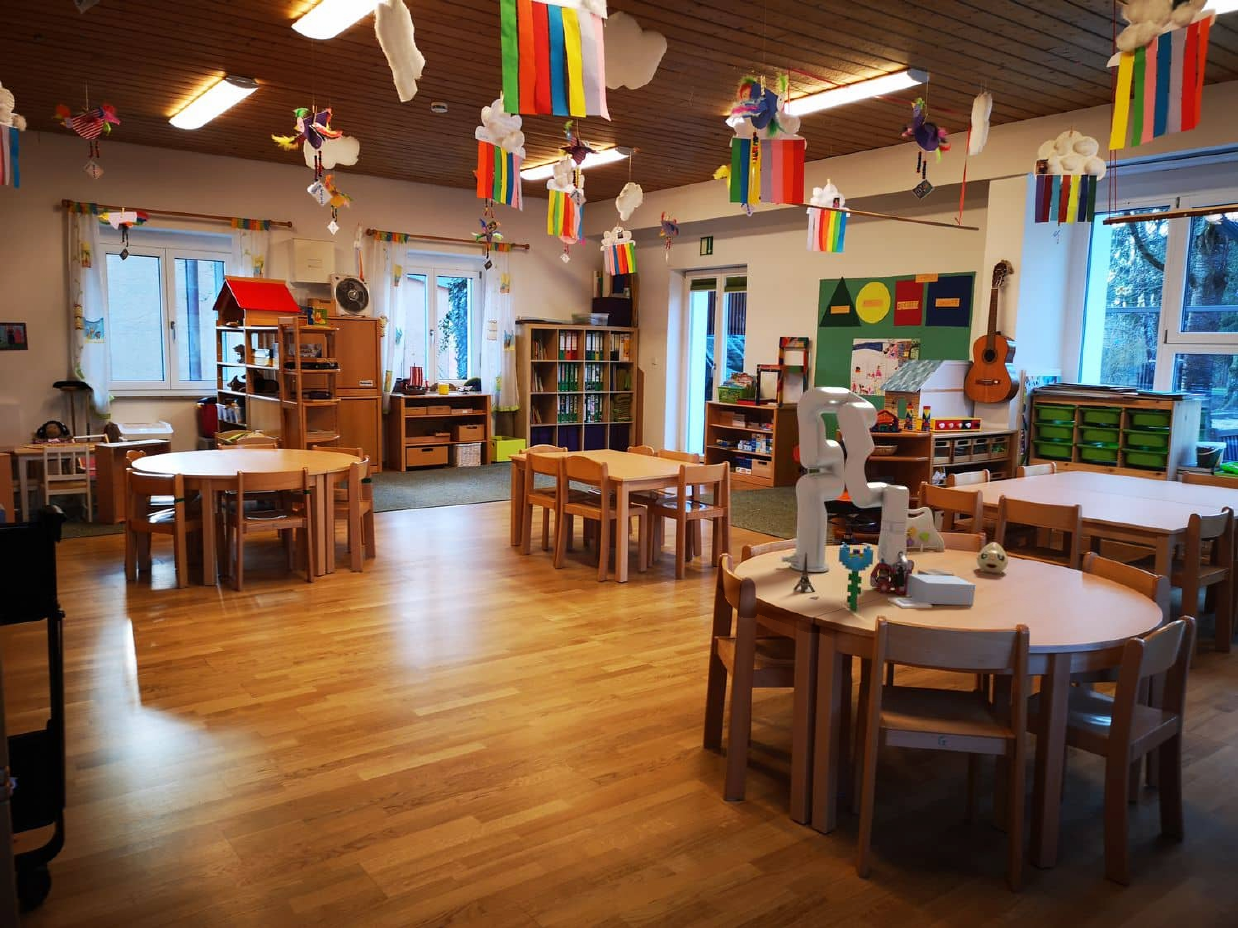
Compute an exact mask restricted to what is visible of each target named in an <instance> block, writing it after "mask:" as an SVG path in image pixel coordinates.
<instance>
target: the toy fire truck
mask: <svg viewBox="0 0 1238 928" xmlns="http://www.w3.org/2000/svg"><path fill="white" fill-rule="evenodd" d="M906 560H907V561H908V565H907V567H906V568H907V569H906V571H905V574H904V586H903V587H894V586H893V575H894V573H895V571H894V567H893V565H892V566H890V565H887V564H885V563H884V559H883V558H882V559H881V563H879V562H878V563H876V564H875V566H874V568H873V569H872V572H871V573H870V575H869V577H870V579H869V580H870V581H869V585H870V586H871V587H872V588H876V589H877V591H878V592H879V593H880V594H883V593H884V594H885V593H886V594H888V593H890V591H891V589H894V592H895V593H896V594H898V595H901V596H904V595H907V594H906V593H907V584H908V575H909V574H913V570H914V569H915V562H914V561H913V560H912V559H906ZM899 567H900V566H899ZM899 567H897V568H899ZM886 568H887V569H888V570H889V571H890V573H889V572H888V570H887V569H886ZM879 569H880V570H879ZM888 574H889V577H887V576H888ZM884 594H883V595H884Z"/></svg>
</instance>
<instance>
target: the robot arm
mask: <svg viewBox="0 0 1238 928" xmlns="http://www.w3.org/2000/svg"><path fill="white" fill-rule="evenodd" d="M796 414H797V421H798V438H799V439H798V441H799V442H798V446H799V460H800V464H801V465H802V466H803V467H804V468H805V469H808V470H819V472H812V473H807V474H805V475H802V476H801V477H800V478H799V479H798V480H797V482H796V485H795V493H796V495H795V496H796V501H797V519H796V520H797V521H796V522H797V524H796V525H797V527H796V546H795V547H796V548H795V552H793V553H792V555H789V556H788V555H782V556H781V558H780V559H781V560H780V561H781V562H782V563H790V567H791V568H792V569H793V570H797V571H801V572H803V569H804V561H805V553H807V572H808V573H823V572H828V571H830V565H829V564H827V563H826V545H827V530H828V529H827V528H828V527H827V526H828V512H827V508H826V505H825V502H829V501H830V502H831V501H835V500H838V499H839V498H841V496H842V495H843V494H844V490H845V486H846V490H847V493H848V496H849V498H850V501H851V502H852V503H853V505H855V506H856V507H858V508H861V509H868V508H878V507H881V522H880V524H881V525H880V532H879V538H878V545H877V556H876V558H877V560H878V563H881V559H882V558H883V559H884V563H885V564H887V565H890V566H892V565H893V567H894V571H895V573H894V575H893V586H894V587H903V586H904V574H905V571H906V569H907V568H906V567H907V565H908V561H907V560H908V559H907V554H906V553H907V548H906V533H907V523H908V522H907V521H908V518H909V513H908V509H909V502H910V490H909V488H908V487H906V486H903V485H896V484H895V485H893V484H892V485H891V484H889V483H886V482H882V481H879V482H878V481H877V482H876V481H875V482H868V481H867V478H866V474H865V464H866V461H867V458H868V457H869V456H870V455H871V454H872V453H873V452H874V451H875V444H874V440H873V437H872V435H871V431H870V429H871V428H873V427H874V426H876V424H877V422H878V418H879V417H878V411H877V409H876V407H875V406H874V405H873V404H872V403H870V402H869V401H867V400H866V399H865V398H863V397H861V396H860V395H858V394H857V393H855V392H853V391H851V390H850V389H848V388H844V387H840V386H817V387H812V388H809V389H807V390H805V391H804V392H803V393H802V394H801V395H800V397H799V399H798V401H797V405H796ZM822 414H836V420H837V424H838V427H839V430H840V434H841V437H842V440H843V443H844V447H845V450H846V454H847V458H846V459H845V456H844V455H845V454H844V451H843V448H842V446H841V444H839V442H837V441H835V440H833V439H827V437H826V425H825V422H824V419H823V417H822V416H821V415H822ZM899 566H900V567H899ZM897 567H899V568H897ZM886 569H887V568H886ZM879 570H880V569H879ZM879 570H878V571H879ZM887 570H888V569H887ZM888 572H889V574H890V571H889V570H888ZM889 574H888V576H887V577H889ZM889 578H890V577H889Z"/></svg>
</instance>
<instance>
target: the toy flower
mask: <svg viewBox="0 0 1238 928" xmlns="http://www.w3.org/2000/svg"><path fill="white" fill-rule="evenodd" d="M862 550H863V552H861V549H858V548H857V549H856V548H853V549H852V552H851V546H848V544H847V543H843V546H840V547H839V552H838V563H841V566H844V567H845V568H844V569H846V570H849V571H851V573H848V577H847V578H848V579H847V580H848V581H850V584H848V583H847V587H846V588H847V590H846V592H847V593H850V594H849V595H846V603H849V611H850V612H857V609H858V608H857V607H858V595H861V594H862V587H861V586H859V585H860V584H862V581H863V579H862V578H863V577H862V576H859V573H860V572H863V571H866V569H867V568H870V565H873V564H874V549H871V545H866V547H863V549H862Z"/></svg>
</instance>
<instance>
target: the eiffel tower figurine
mask: <svg viewBox="0 0 1238 928" xmlns="http://www.w3.org/2000/svg"><path fill="white" fill-rule="evenodd" d="M808 573H809V572H807V553H805V561H804V569H803V571H802V574H801V577H800V579H799V581H797V584H796V585H795V586H794V587H793V590H798V589H799V588H800V592H799V593H800V594H805V588H806V589H807V590H808V589H810V590H811V592H812V593H814V592H816V590H815V588H814V587H813V585H812V582H810V579H809V578H810V577H809V574H808ZM818 598H819V596H811V597H809V598H808V599H811V600H818Z"/></svg>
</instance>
